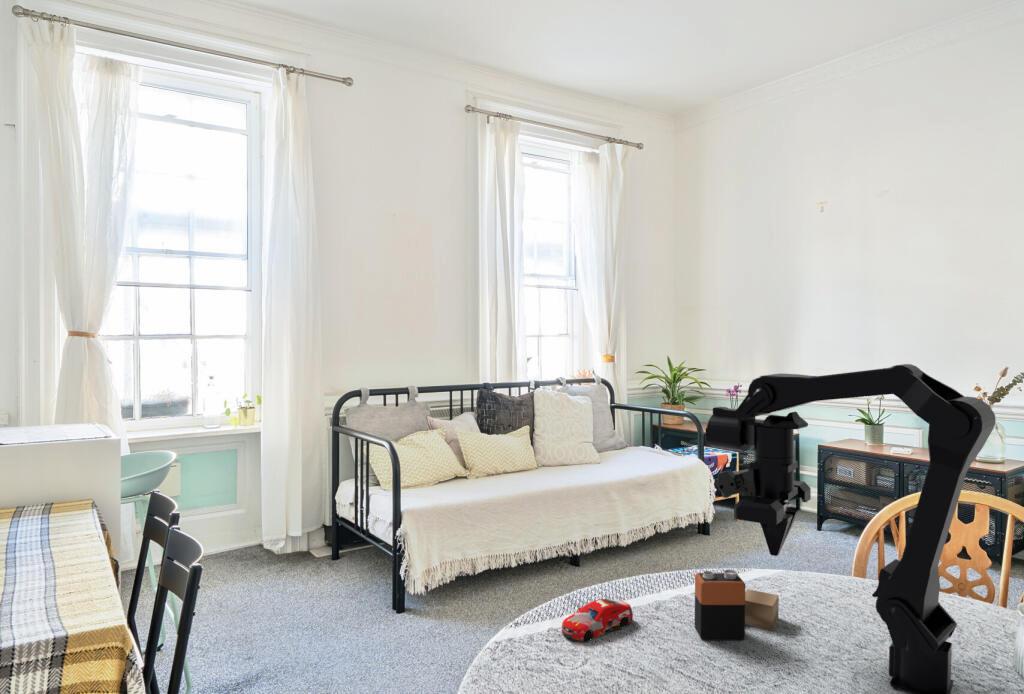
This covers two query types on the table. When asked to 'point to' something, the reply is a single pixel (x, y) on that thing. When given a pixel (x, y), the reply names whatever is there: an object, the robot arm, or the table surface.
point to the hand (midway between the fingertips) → (774, 554)
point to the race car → (597, 619)
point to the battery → (720, 605)
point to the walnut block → (761, 609)
